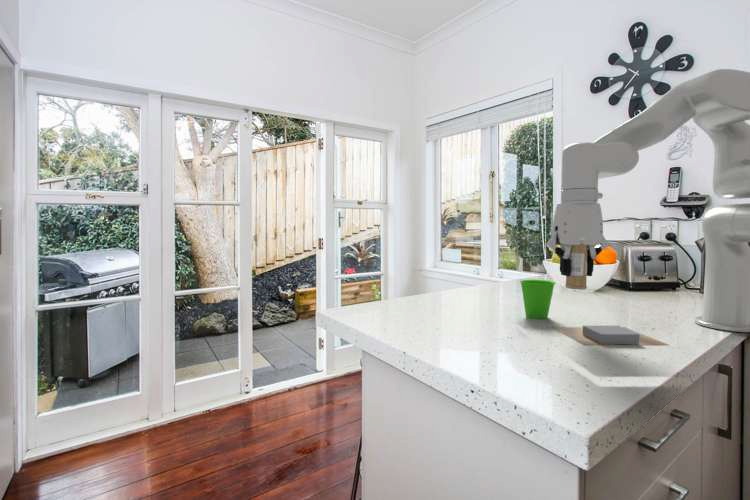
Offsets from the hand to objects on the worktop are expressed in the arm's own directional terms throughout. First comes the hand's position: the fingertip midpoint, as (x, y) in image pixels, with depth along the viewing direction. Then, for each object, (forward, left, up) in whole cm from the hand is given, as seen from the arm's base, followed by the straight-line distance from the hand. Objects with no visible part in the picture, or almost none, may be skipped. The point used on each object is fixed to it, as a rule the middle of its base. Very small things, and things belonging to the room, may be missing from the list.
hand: (576, 274), depth 87 cm
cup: (+3, -14, -15) cm, 21 cm away
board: (-5, +4, -15) cm, 16 cm away
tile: (-8, +7, -12) cm, 16 cm away
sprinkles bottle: (0, 0, -4) cm, 4 cm away
